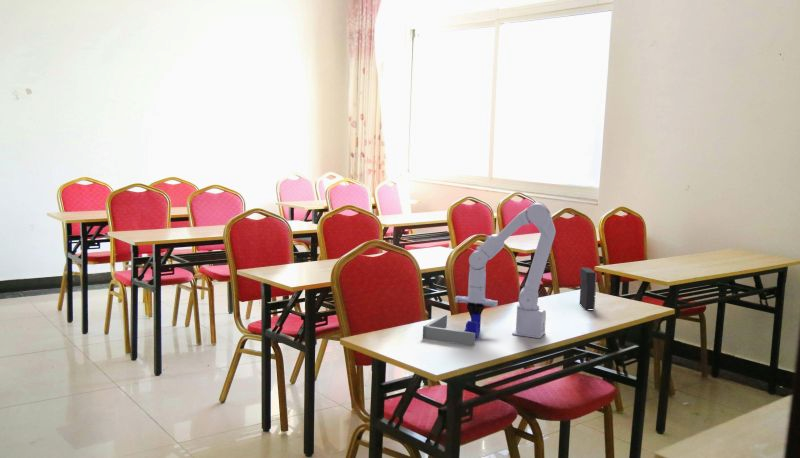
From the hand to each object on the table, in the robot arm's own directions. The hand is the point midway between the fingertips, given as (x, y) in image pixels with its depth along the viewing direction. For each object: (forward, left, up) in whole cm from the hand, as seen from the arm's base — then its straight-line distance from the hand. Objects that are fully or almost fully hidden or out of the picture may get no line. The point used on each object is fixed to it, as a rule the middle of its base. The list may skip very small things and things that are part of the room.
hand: (475, 325), depth 249 cm
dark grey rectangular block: (-28, -56, -2) cm, 62 cm away
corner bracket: (+2, +10, -1) cm, 11 cm away
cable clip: (-2, +8, -2) cm, 9 cm away
